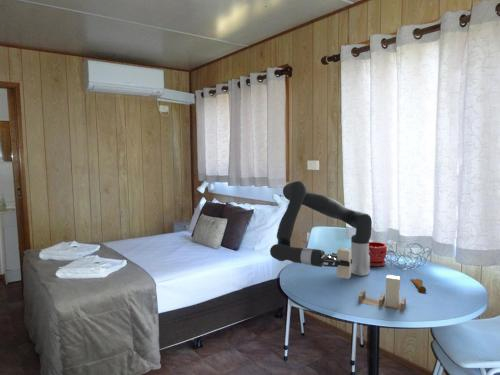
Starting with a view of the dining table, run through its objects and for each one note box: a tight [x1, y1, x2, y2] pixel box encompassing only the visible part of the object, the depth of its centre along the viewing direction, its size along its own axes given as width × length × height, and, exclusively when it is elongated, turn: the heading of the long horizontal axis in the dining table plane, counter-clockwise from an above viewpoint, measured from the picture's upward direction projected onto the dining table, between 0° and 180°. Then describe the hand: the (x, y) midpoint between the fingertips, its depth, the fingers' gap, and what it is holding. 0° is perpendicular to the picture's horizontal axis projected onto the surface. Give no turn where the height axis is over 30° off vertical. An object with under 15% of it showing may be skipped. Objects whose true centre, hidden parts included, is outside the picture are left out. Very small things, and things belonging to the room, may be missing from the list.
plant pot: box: [369, 241, 388, 267], centre depth 210 cm, size 13×13×12 cm
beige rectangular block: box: [336, 247, 352, 280], centre depth 155 cm, size 4×5×12 cm
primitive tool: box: [409, 278, 427, 294], centre depth 174 cm, size 19×6×4 cm, turn 167°
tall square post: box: [385, 274, 401, 308], centre depth 149 cm, size 4×5×12 cm
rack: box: [358, 289, 407, 312], centre depth 151 cm, size 8×18×4 cm, turn 61°
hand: (350, 262), depth 154 cm, fingers closed on beige rectangular block, 4 cm apart
